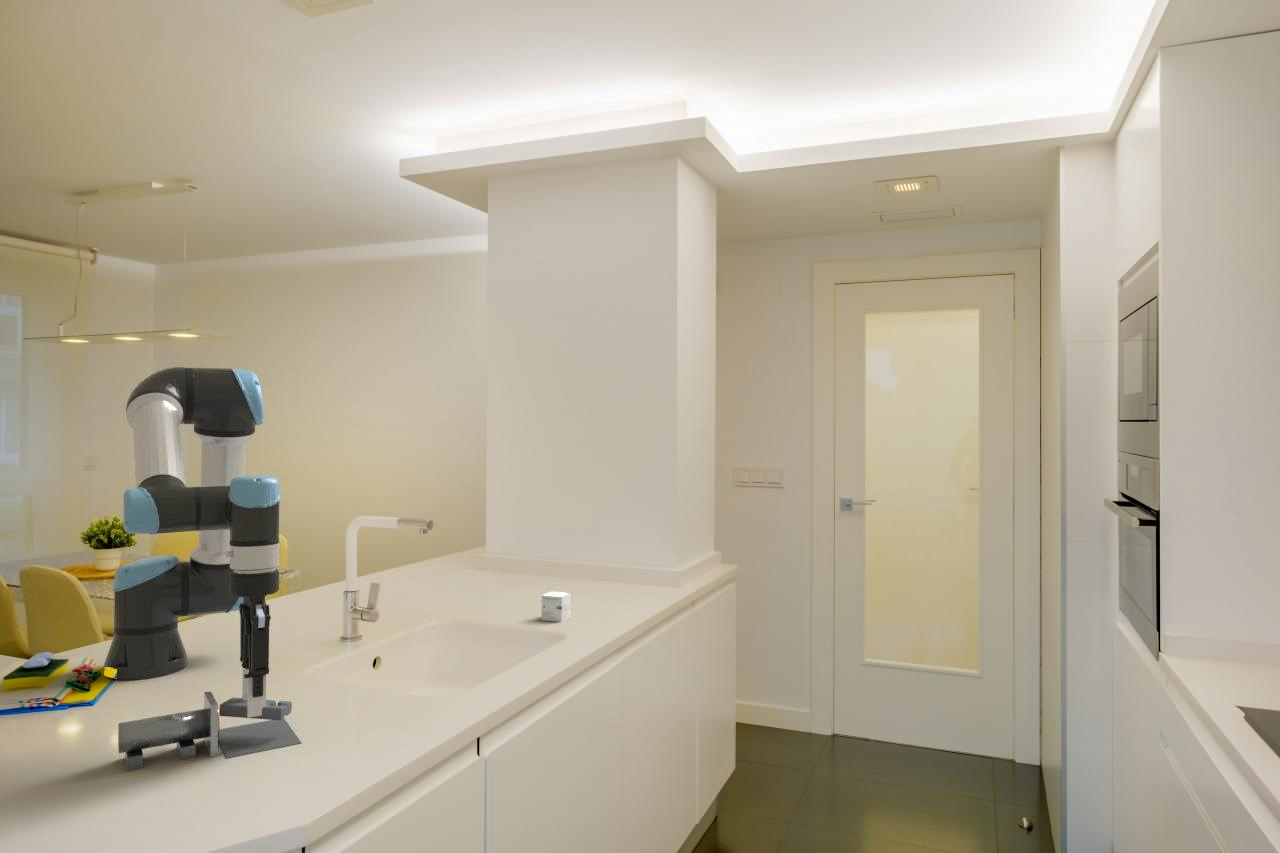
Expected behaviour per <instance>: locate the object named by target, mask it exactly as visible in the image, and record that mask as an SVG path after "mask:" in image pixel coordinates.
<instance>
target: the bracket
mask: <svg viewBox="0 0 1280 853" xmlns="http://www.w3.org/2000/svg"><path fill="white" fill-rule="evenodd" d="M292 706H293V703H292V701H289V700H288V701H287V700H279V701H278V702H277V703H276V700H274V699H273V700H271V699H266V707H264V708H262V715H261V716H255V717H249V718H248V717H247V701H243V700H242V697H234V696H233V697H230V698H229V699H228V700H225V701H224V702H221V703H220V705H219V717H229V718H241V719H242V718H244V719H254V720H255V719H256V720H257V719H258V720H267V721H269V720H281V719H283V718H284V719H285V716H289V715H290V714H291V713H292V708H293V707H292Z"/></svg>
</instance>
